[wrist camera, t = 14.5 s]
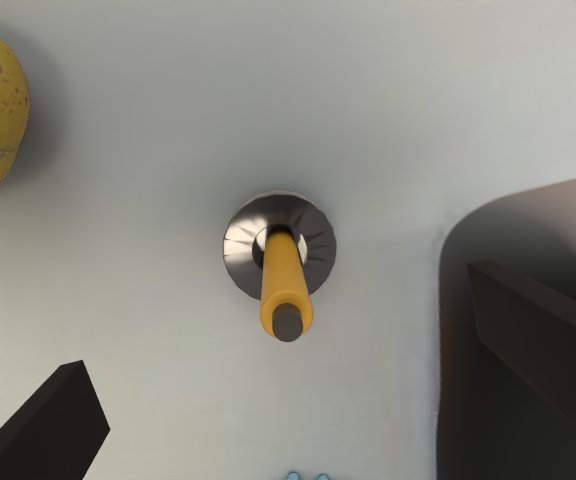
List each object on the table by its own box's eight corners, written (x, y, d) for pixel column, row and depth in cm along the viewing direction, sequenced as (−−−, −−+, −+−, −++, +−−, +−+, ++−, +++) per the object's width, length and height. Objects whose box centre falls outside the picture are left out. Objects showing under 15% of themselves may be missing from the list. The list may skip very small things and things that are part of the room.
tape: (215, 204, 30) (209, 209, 27) (317, 178, 30) (322, 181, 27) (243, 300, 32) (240, 315, 29) (339, 276, 31) (346, 288, 29)
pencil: (261, 232, 30) (252, 309, 16) (290, 224, 30) (309, 295, 16) (269, 260, 31) (267, 360, 16) (297, 253, 31) (322, 346, 16)
